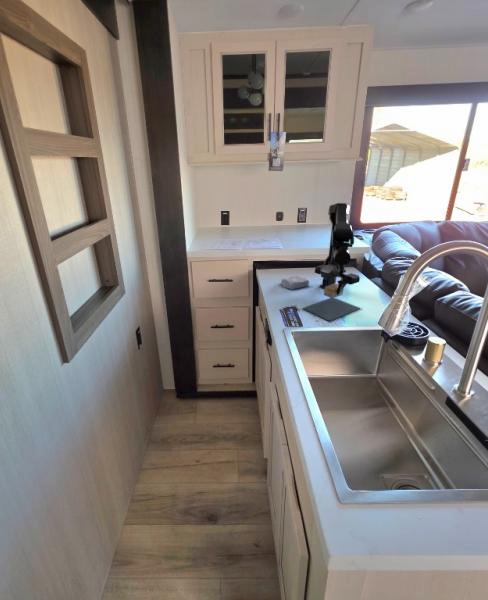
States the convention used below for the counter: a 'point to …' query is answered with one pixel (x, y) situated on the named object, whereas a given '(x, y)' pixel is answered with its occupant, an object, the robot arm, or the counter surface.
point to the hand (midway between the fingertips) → (333, 292)
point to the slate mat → (331, 309)
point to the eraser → (332, 291)
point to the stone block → (295, 282)
